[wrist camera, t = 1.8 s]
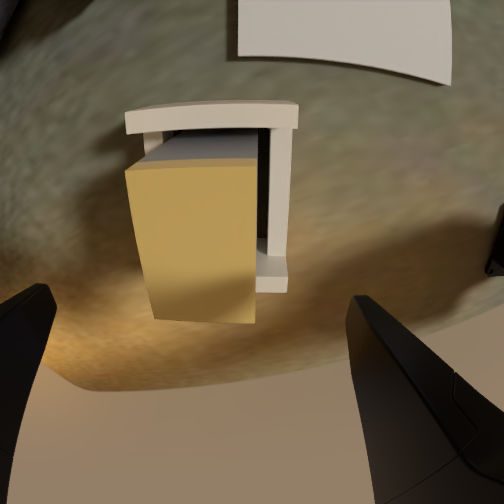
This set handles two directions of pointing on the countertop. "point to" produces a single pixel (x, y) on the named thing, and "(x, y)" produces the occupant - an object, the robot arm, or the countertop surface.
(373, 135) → the countertop surface
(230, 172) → the plug
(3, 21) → the crumpled dark cloth
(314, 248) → the countertop surface
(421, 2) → the mat
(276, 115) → the white rectangular frame
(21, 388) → the robot arm
